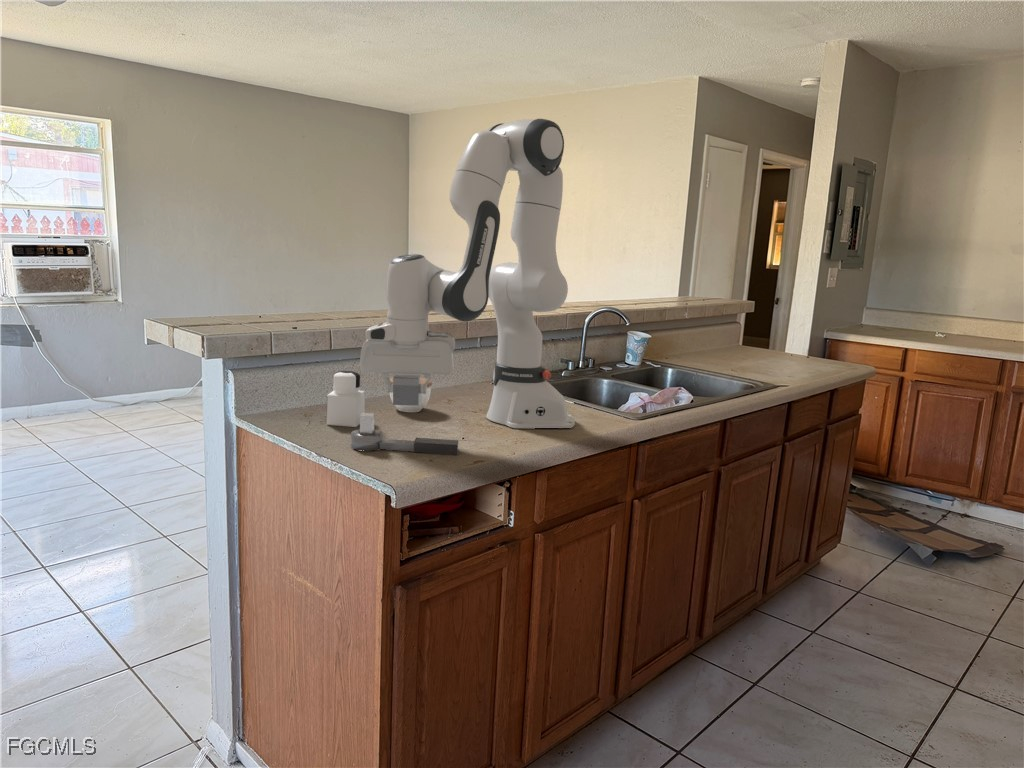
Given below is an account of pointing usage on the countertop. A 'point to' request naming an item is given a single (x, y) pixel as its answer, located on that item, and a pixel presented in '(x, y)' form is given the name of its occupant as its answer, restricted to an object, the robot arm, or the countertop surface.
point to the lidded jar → (422, 402)
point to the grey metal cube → (406, 389)
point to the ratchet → (373, 440)
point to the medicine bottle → (345, 400)
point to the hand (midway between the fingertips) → (407, 392)
